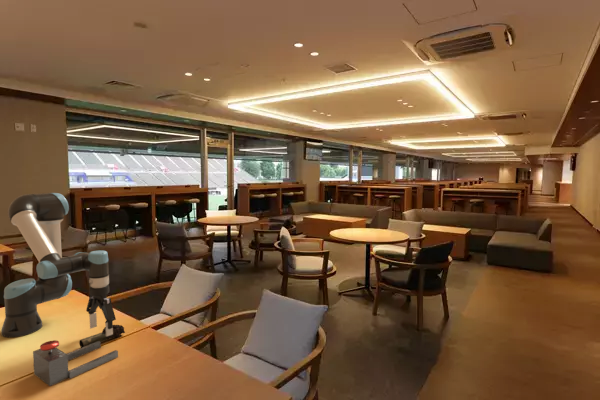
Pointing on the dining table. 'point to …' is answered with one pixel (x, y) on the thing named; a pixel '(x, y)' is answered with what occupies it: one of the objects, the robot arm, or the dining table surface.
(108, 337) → the morel mushroom
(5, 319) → the robot arm
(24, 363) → the dining table surface
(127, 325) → the dining table surface
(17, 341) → the dining table surface
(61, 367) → the cradle
